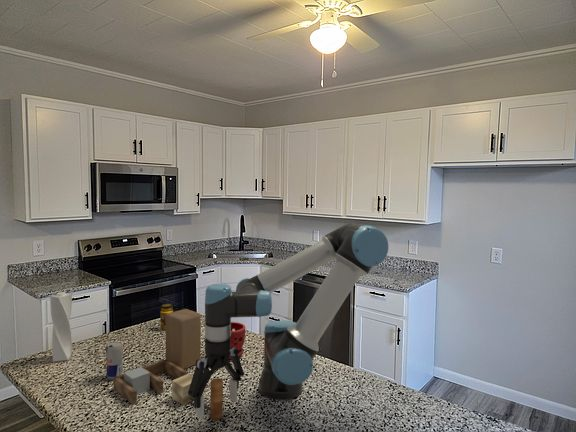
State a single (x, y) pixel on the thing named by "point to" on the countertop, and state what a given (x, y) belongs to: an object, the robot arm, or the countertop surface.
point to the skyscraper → (61, 326)
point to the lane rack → (154, 380)
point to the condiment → (164, 310)
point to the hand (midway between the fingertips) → (217, 408)
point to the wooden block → (183, 338)
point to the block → (138, 379)
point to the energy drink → (114, 360)
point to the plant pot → (237, 337)
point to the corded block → (183, 385)
